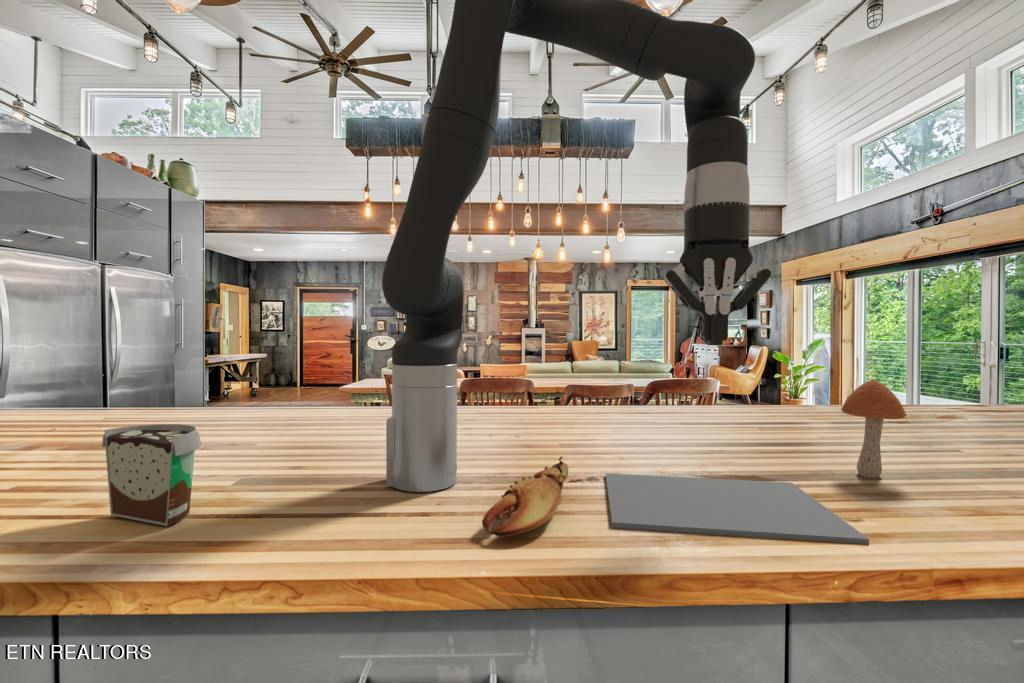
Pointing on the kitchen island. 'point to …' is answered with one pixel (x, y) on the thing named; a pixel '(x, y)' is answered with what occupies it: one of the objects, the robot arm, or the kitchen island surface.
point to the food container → (151, 471)
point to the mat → (723, 508)
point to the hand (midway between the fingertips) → (714, 345)
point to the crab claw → (528, 502)
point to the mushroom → (872, 421)
